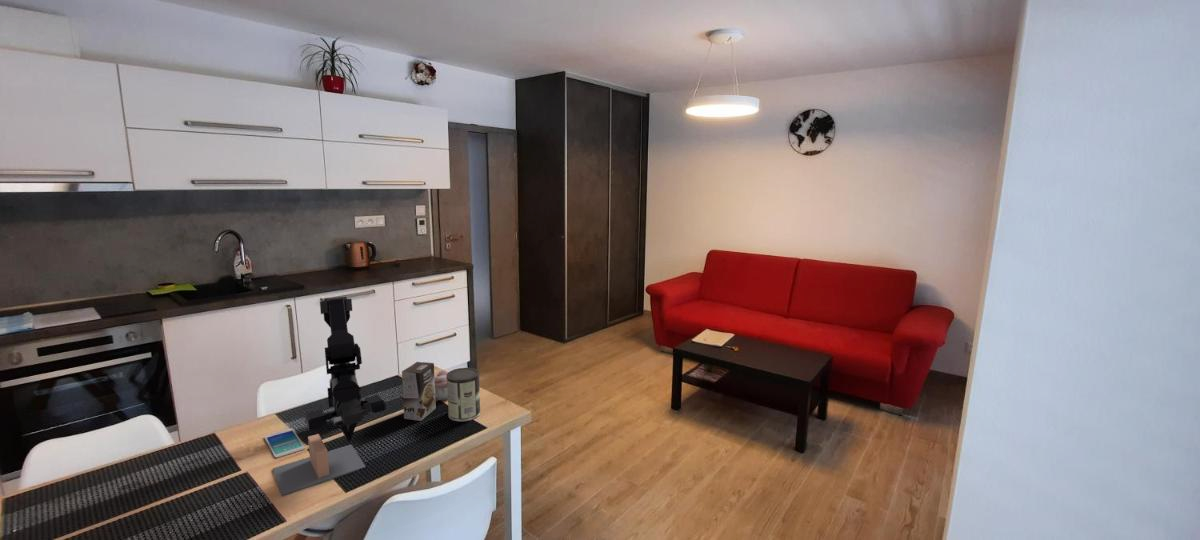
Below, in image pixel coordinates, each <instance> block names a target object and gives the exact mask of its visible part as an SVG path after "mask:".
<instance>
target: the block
mask: <svg viewBox="0 0 1200 540" xmlns="http://www.w3.org/2000/svg"><path fill="white" fill-rule="evenodd" d="M307 439H308V440H307V442H308V443H307V444H308V450H309V457H310V461H311V463H312V465H313V468H314V470H315V472H316V474H317V476H318V478H321V477H324V476H327V475H329V464H328V453H327V452H328V449H327V447H326V445H325V443H324V442H323V439H322V438H321V436H320V434H319V433H317V434H314V435H309V436H307Z"/></svg>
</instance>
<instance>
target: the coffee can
mask: <svg viewBox="0 0 1200 540" xmlns="http://www.w3.org/2000/svg"><path fill="white" fill-rule="evenodd" d="M446 378H447V392H448V399H447V406H448V407H447V409H448V412H447V413H448V415H447V416H448V418H449V419H450V420H451V421H454V422H461V423H462V422H468V421H472V420H474V419H476V418H478V417H480V415H481V397H480V396H481V395H480V393H481V392H480V371H479V370H478V369H477V368H474V367H460V368H456V369H452V370H449V371H448V373H447V375H446Z"/></svg>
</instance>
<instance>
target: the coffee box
mask: <svg viewBox="0 0 1200 540" xmlns="http://www.w3.org/2000/svg"><path fill="white" fill-rule="evenodd" d="M434 377H435V363H433V362H428V361H427V362H424V361H423V362H422V361H416V362H415V363H413V364H412V365H410V366H408V367H406V368H405V369H404V370H402V371H401V379H402V380H401V381H402V382H401V383H402V398H403V399H402V401H403V402H402V404H403V418H404V419H405V420H413V421H419V422H421V421H423V420H424V419H425V418H427V416H428V415H430V414H431V413H433V411H435V410H436V408H437V407H436V399H435V379H434Z"/></svg>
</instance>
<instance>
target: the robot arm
mask: <svg viewBox="0 0 1200 540" xmlns="http://www.w3.org/2000/svg"><path fill="white" fill-rule="evenodd" d="M352 302H353V301H352V298H348V297H347V296H337V297H336V296H335V297H327V298H325V297H324V300H321V301H319V308H320V315H323V320H324V322H325V323H326V324H327V326H328V327H329V328H330V336H328V337H327V339H326V341H327V342H326V343H327V346H326V347H324V356H325V367H326V368H325V370H326V375H330V376H331V377H330V379H329V387H327V397H328V398H327V399H328V400H327V401H328V408H332V407H333V410H331V411H327V412H324V411H323V409H322V408H320V409H316V410H312V411H308V412H306V413H305V415H304V424H305V425H306V427H307V429H308V430H309V431H315V430H319V429H323V428H324V427H326V426H327V421H328V420H329V421H330V422H331V423H332V425H333V426H334V427H339V428H340V430H341V432H342V433H343V436H344V437H345V440H346V441H347V443H348V442H351V441H352V438H353V435H354V432H355V429H356V427H357V425H358V423H359V422H362V421H363V420H364V418H365V416H366V415H367V416H368V415H369V414H370V413H371V412H372V413H374V414H376V413H381V412H383V411H384V412H385V411H386V409H387V404H386V401H385V399H384V398H383V397H382V396H381V395H379V394H375V395H372V396H366V397H365V398H364V399H362V392H361V391H362V390H361V389H362V388H361V386H360V385H359V382H358V380H357V376H356V371H357V370H360V369H361V365H362V364H363V360H362V352H361V351H362V350H361V347H360V346H359V344H358V343H355V338H354V335H353V334H351V333H350V332H349V330H348V323H349V320H350V318H351V313H350V312H353V303H352ZM329 365H331V366H330V367H329Z"/></svg>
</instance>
